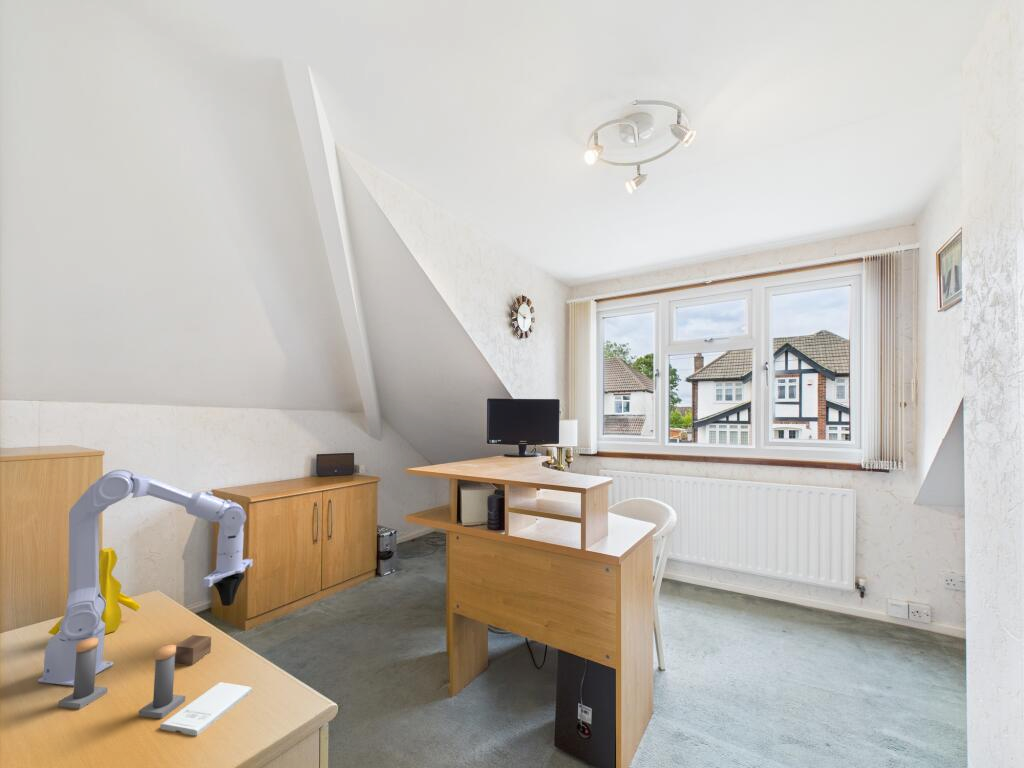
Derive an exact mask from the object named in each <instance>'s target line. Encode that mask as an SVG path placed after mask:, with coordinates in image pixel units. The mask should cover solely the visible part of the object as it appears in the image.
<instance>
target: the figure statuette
mask: <svg viewBox="0 0 1024 768" xmlns="http://www.w3.org/2000/svg"><path fill="white" fill-rule="evenodd" d="M117 562H118V556H117V554H116V551H115V550H114V548H112V547H106V548H102V549H99V584H100V591H101V595H102V596H103V598H104V599H105V601H106V608H105V610H104V612H103V613H102V616H101V620H102V621H103V622H104V623H105V635H107V634H109V633H113V632H115V631H117V630H118V628H119V627H120V625H121V622H122V618H123V617H122V616H123V615H122V613H123V612H122V609H121V606H120V604H121V605H123V606H125V607H126V608H128V609H131V610H133V611H135V612H137V611H138V610H139V609H140V608H141V605H140V604H138V603H137V602H136V601H135V600H133V599H132V598H131V597H129V596H127V595H125V594H124V593H123V592H121V590H122V583H121V581H119V580H118V579H116V578H115V577H114V576H113V574H112V573H113V571H114V569H115V567H116V564H117ZM119 603H120V604H119ZM64 617H65V615H64V616H62V618H61V619H60V620H59V621H58V622H57V623H56V624H55V625H54V626H53V627H52V628H51V629H50V630H49V631H48V632H47V633H48V634H50V635H52V636H55V635H56V634H57V633H59V632H60V624H61V621H62V620H63V618H64Z"/></svg>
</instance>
